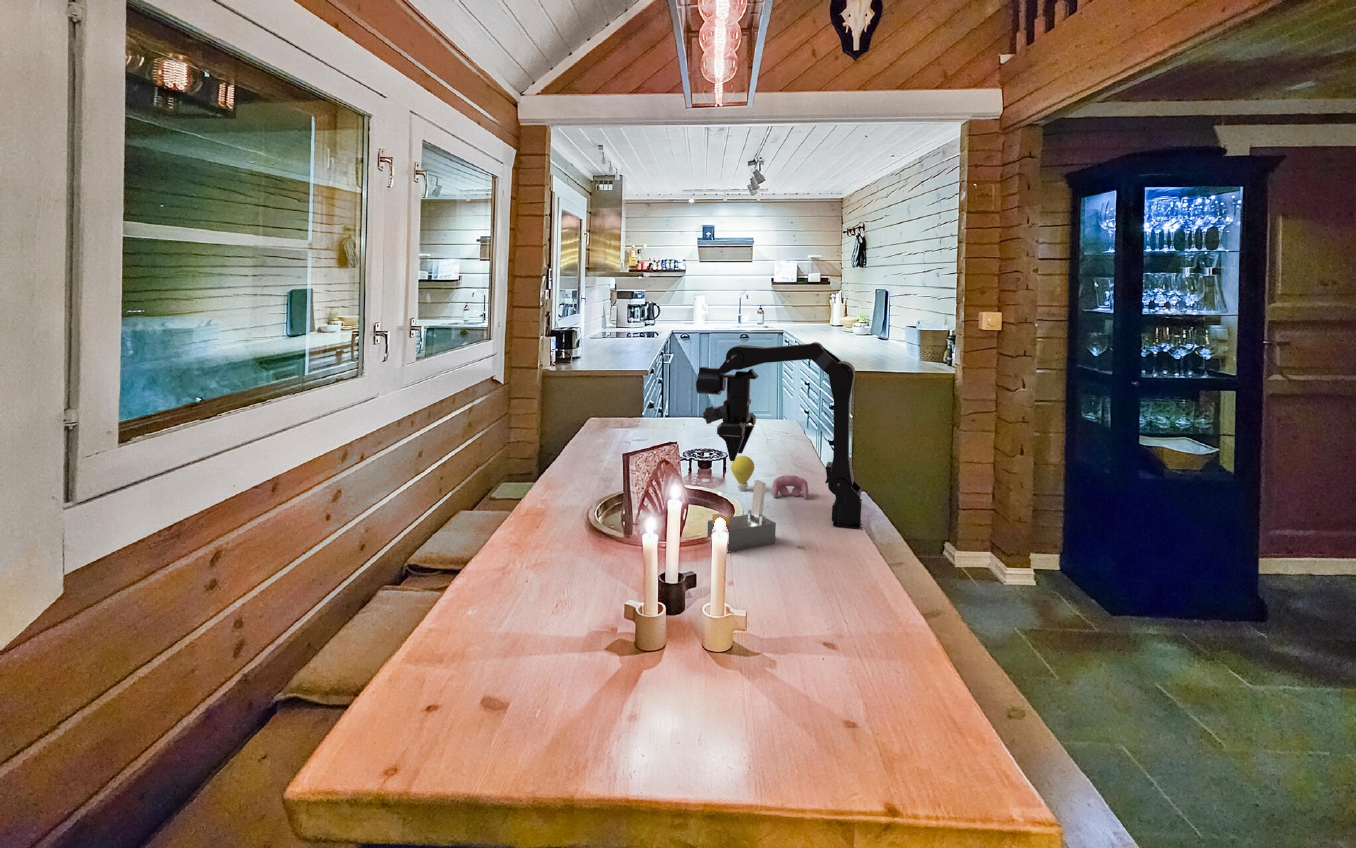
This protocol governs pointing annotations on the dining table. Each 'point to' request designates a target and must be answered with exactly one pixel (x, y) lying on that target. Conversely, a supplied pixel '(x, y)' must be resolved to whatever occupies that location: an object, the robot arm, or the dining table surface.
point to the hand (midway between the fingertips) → (736, 457)
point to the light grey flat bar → (758, 499)
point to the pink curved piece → (790, 480)
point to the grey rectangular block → (746, 531)
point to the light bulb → (742, 471)
